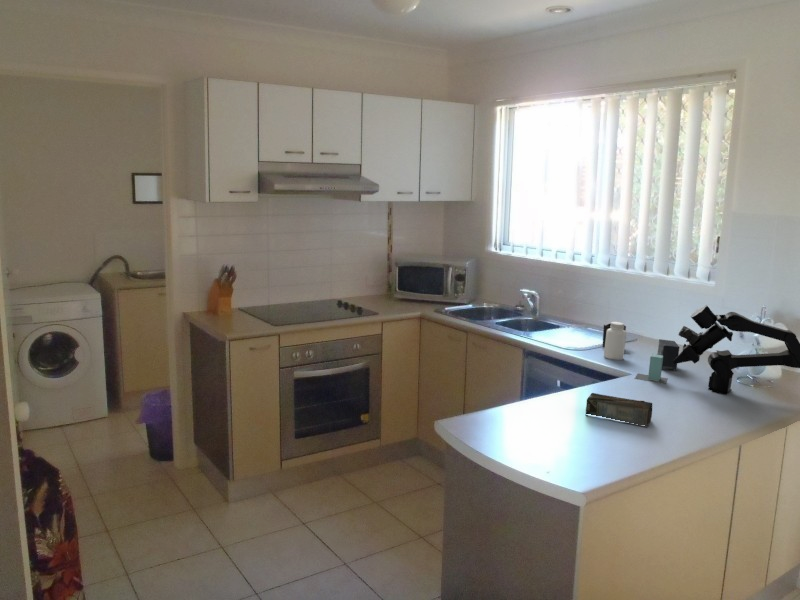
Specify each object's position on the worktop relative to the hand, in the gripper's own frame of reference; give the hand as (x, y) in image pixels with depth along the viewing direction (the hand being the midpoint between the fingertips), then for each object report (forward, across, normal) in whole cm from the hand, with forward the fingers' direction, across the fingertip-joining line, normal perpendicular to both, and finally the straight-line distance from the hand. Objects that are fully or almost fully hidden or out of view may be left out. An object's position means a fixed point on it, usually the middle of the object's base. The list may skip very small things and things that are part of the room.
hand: (673, 362), depth 245 cm
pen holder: (+26, -42, -14) cm, 51 cm away
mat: (+11, 0, 0) cm, 11 cm away
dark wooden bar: (+14, +49, -2) cm, 51 cm away
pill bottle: (+23, -24, -12) cm, 35 cm away
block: (+10, 0, +1) cm, 10 cm away
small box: (+8, -21, +3) cm, 23 cm away
